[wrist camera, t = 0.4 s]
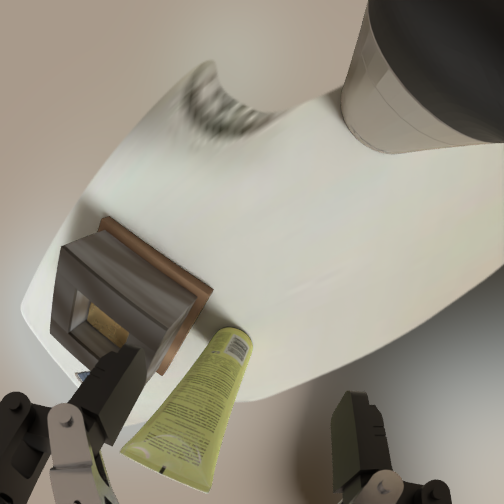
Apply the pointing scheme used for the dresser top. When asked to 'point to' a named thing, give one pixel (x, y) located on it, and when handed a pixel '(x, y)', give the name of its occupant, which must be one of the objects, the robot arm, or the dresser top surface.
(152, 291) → the socket
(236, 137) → the dresser top surface
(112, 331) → the tan sandy square tile
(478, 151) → the dresser top surface
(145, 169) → the dresser top surface
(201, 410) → the tube
